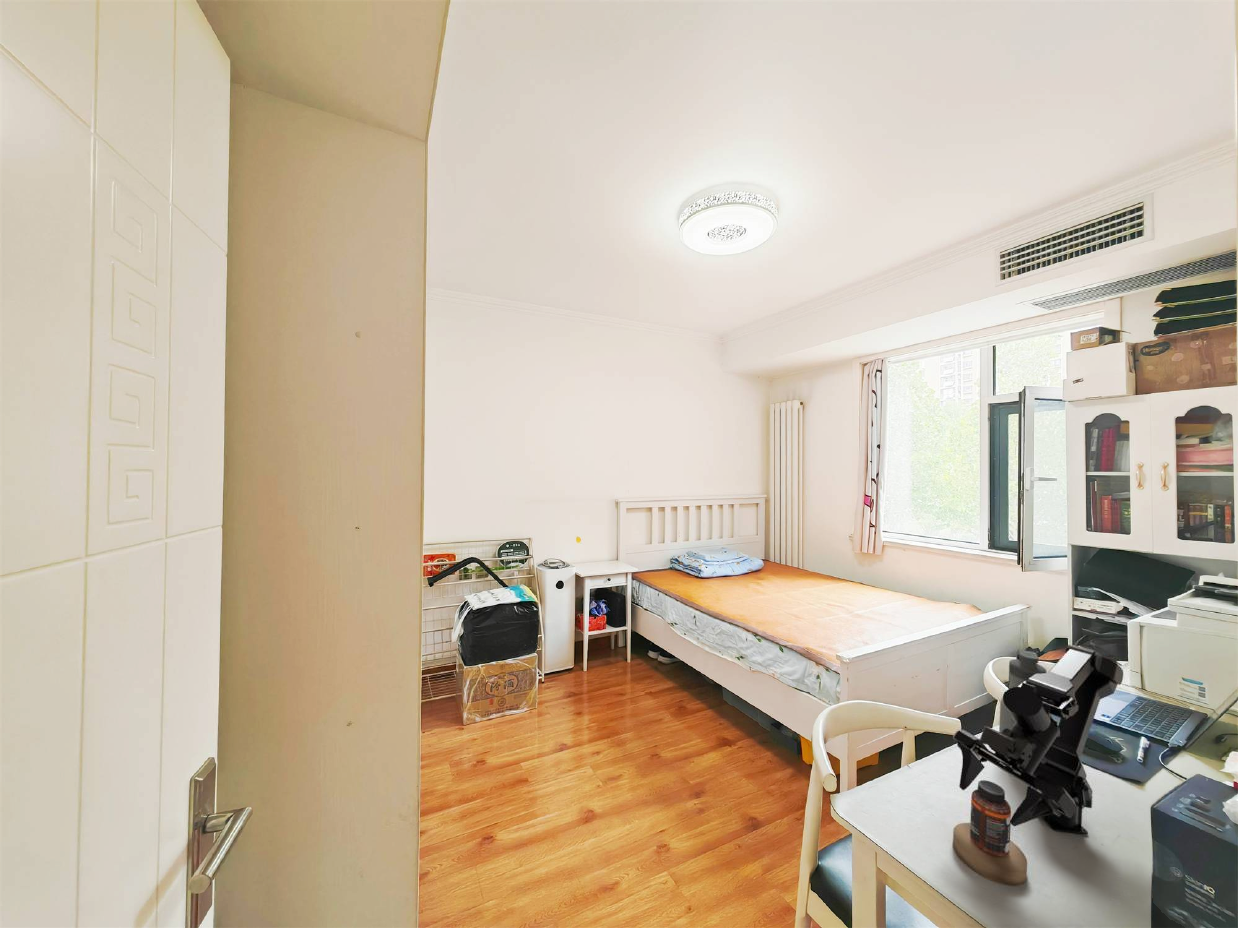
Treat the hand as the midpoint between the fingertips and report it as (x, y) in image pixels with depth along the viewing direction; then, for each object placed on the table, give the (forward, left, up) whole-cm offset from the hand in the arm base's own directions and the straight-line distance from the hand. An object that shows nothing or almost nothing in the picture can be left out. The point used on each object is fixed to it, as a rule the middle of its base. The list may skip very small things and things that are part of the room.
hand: (985, 805), depth 88 cm
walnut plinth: (-1, -1, -11) cm, 11 cm away
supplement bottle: (-1, -1, -8) cm, 8 cm away
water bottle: (-28, -34, -11) cm, 45 cm away
